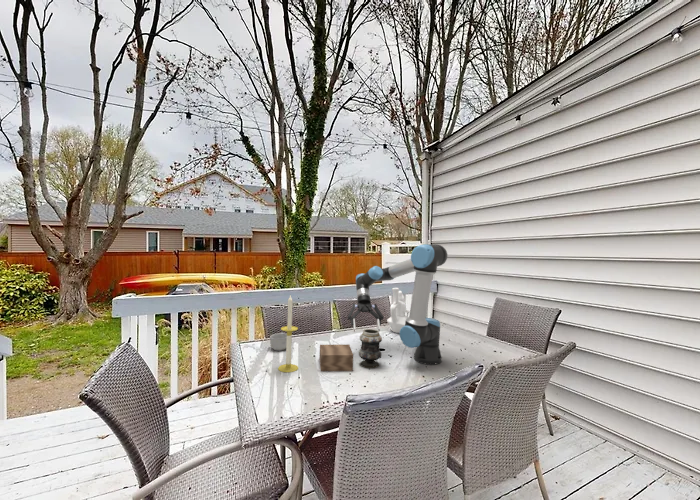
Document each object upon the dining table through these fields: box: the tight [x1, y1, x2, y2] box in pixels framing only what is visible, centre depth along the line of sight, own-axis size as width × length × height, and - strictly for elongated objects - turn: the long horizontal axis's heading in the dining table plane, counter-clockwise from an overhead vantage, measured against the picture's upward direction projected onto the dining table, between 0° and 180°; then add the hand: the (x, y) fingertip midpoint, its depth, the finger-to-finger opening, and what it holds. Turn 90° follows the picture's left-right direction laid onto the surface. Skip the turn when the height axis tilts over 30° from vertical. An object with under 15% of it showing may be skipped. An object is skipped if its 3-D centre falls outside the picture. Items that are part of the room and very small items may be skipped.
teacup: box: [269, 331, 287, 352], centre depth 202 cm, size 14×11×8 cm
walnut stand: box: [318, 344, 354, 372], centre depth 180 cm, size 16×16×8 cm
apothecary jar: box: [357, 328, 383, 369], centre depth 182 cm, size 12×12×18 cm
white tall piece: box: [386, 287, 410, 334], centre depth 243 cm, size 18×22×32 cm
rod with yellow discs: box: [277, 294, 299, 373], centre depth 172 cm, size 10×10×38 cm
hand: (366, 330), depth 189 cm, fingers open, 13 cm apart
